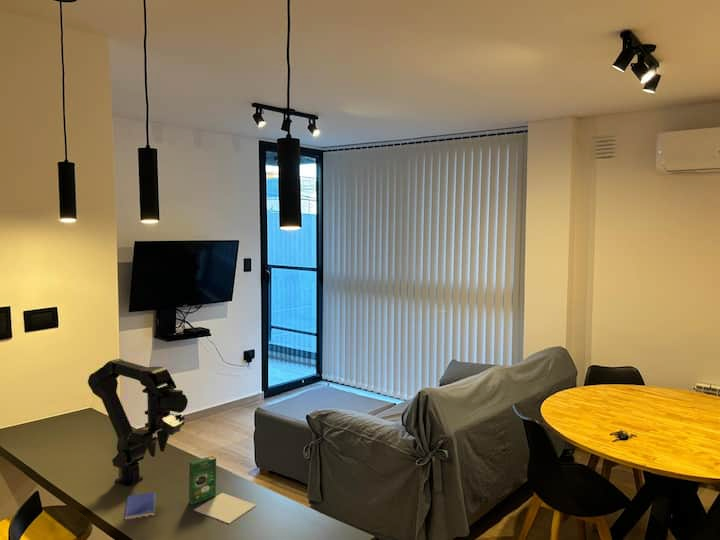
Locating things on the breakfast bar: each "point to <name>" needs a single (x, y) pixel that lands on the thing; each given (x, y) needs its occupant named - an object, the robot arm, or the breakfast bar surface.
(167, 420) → the robot arm
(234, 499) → the mat
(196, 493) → the coffee box
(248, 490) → the breakfast bar surface
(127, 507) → the hard drive
